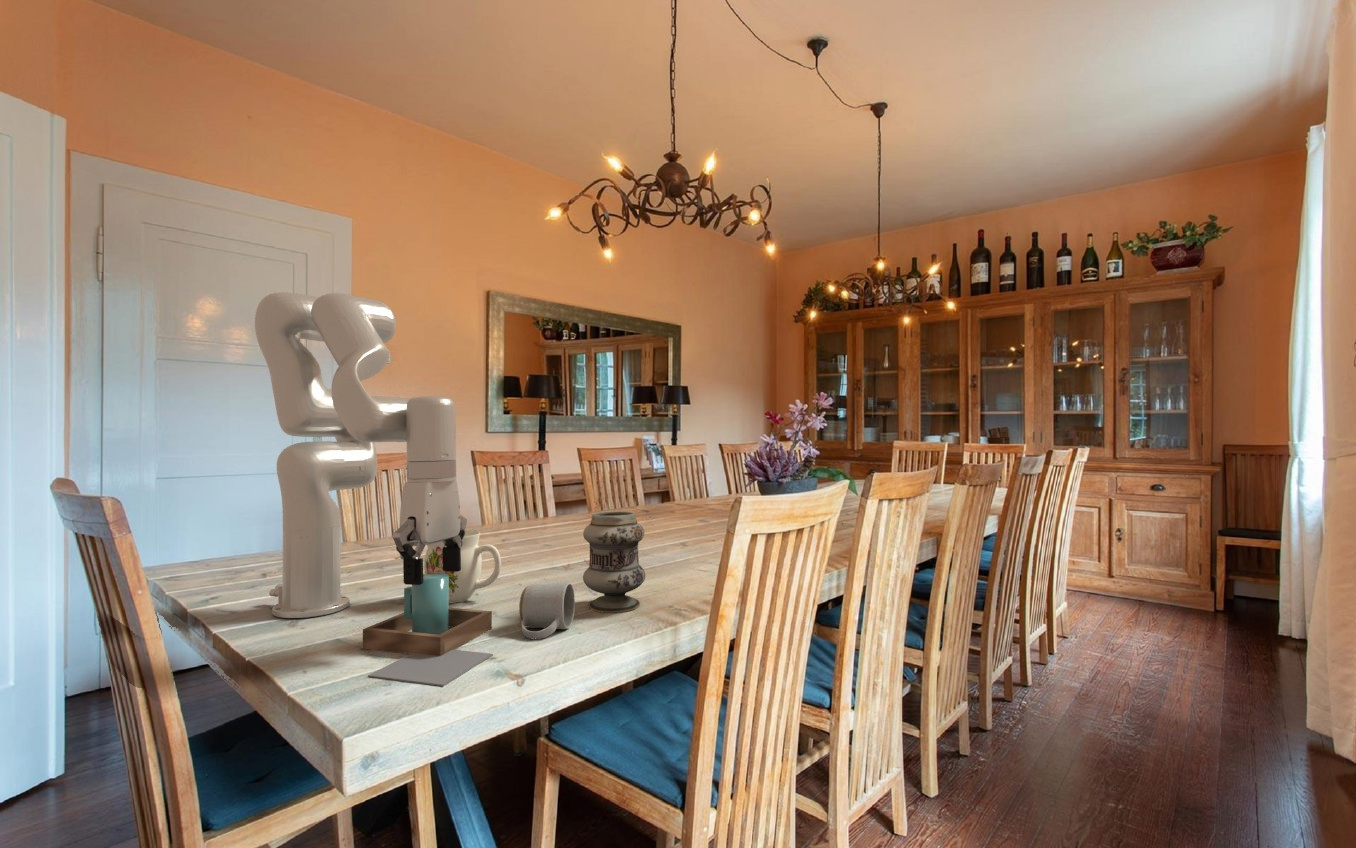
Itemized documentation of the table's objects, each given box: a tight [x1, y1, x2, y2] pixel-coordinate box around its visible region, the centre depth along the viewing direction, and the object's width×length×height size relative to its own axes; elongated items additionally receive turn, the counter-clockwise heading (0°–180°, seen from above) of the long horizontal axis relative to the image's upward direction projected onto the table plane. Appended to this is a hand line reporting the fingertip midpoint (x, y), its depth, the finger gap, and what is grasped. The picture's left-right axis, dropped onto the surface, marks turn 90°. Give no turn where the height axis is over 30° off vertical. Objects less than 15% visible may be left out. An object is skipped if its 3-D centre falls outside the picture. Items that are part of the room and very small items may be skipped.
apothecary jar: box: [582, 510, 646, 614], centre depth 122 cm, size 12×12×18 cm
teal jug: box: [403, 573, 450, 635], centre depth 103 cm, size 7×6×10 cm
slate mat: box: [367, 649, 494, 687], centre depth 91 cm, size 12×12×1 cm
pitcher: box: [423, 528, 502, 604], centre depth 127 cm, size 11×18×14 cm, turn 82°
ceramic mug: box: [518, 581, 576, 640], centre depth 108 cm, size 11×8×8 cm
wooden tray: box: [362, 607, 493, 656], centre depth 103 cm, size 14×14×3 cm
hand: (433, 577), depth 103 cm, fingers open, 9 cm apart
